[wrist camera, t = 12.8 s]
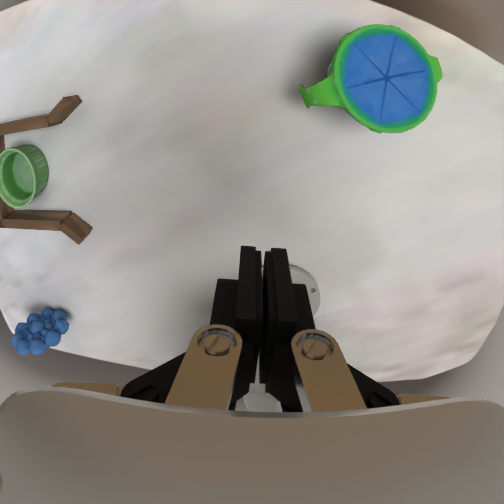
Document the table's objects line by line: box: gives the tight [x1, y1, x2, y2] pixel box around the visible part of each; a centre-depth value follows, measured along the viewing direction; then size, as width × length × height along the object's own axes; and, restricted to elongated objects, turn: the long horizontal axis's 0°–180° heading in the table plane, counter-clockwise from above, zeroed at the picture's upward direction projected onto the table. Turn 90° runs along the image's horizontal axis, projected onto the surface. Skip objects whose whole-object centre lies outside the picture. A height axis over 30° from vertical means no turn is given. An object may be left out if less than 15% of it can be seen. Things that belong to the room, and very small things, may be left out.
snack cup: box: [299, 24, 442, 133], centre depth 26 cm, size 16×10×10 cm
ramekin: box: [0, 145, 48, 209], centre depth 34 cm, size 9×9×4 cm
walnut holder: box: [0, 95, 92, 244], centre depth 34 cm, size 20×17×4 cm
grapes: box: [11, 309, 69, 355], centre depth 44 cm, size 12×7×12 cm, turn 90°
